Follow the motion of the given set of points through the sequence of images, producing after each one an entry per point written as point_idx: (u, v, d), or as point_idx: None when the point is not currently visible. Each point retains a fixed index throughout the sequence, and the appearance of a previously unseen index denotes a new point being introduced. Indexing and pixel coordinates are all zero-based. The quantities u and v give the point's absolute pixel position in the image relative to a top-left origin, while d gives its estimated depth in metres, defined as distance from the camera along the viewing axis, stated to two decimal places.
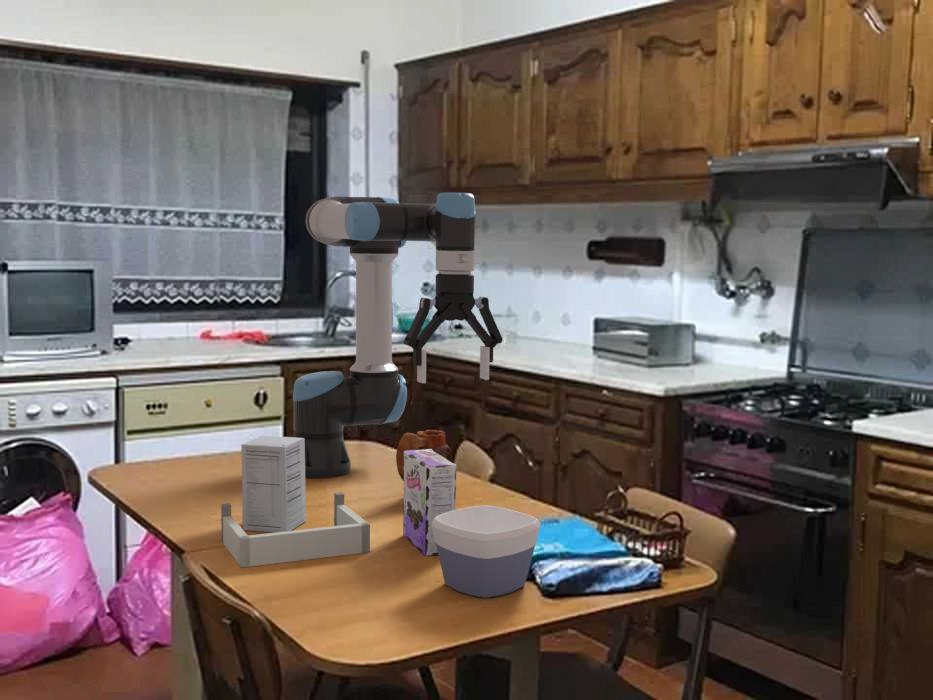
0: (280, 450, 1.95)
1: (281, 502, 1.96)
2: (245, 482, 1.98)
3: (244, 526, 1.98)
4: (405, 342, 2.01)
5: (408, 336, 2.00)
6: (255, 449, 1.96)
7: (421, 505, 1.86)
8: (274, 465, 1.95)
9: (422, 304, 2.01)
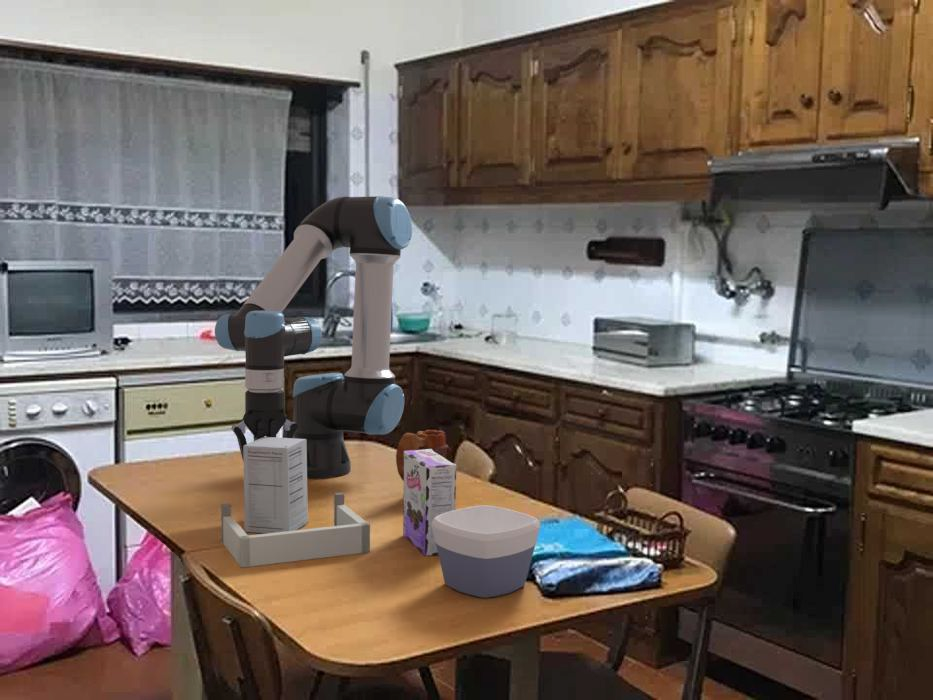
0: (283, 452, 1.93)
1: (283, 503, 1.95)
2: (247, 484, 1.96)
3: (246, 528, 1.97)
4: None
5: None
6: (257, 451, 1.95)
7: (421, 505, 1.86)
8: (276, 466, 1.94)
9: None
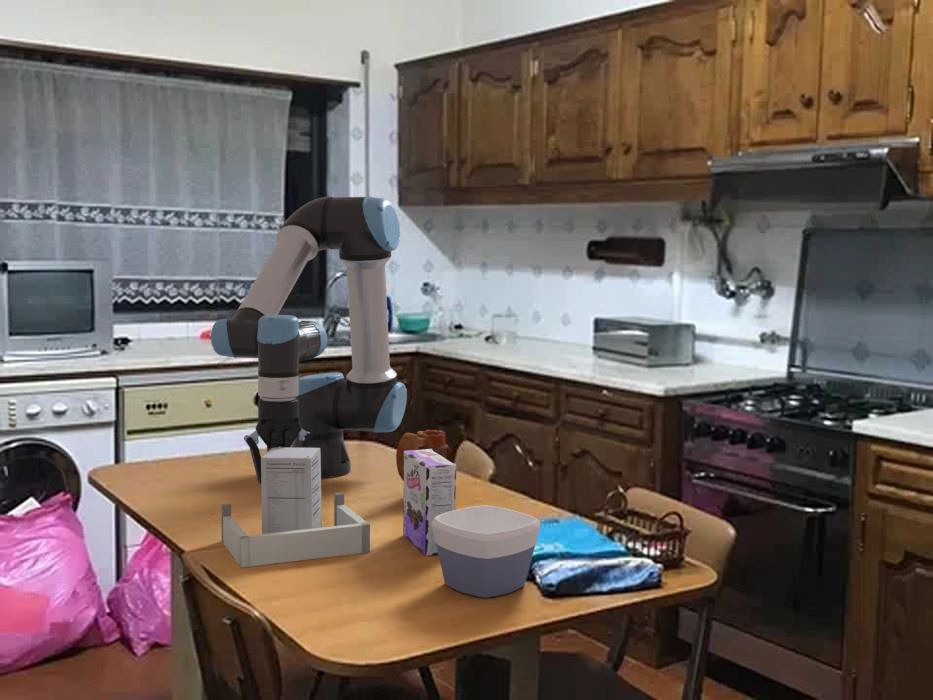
0: (306, 462, 1.85)
1: (306, 516, 1.86)
2: (265, 497, 1.86)
3: None
4: (259, 481, 1.96)
5: (258, 477, 1.95)
6: (277, 462, 1.85)
7: (421, 505, 1.86)
8: (298, 477, 1.86)
9: (248, 444, 1.93)
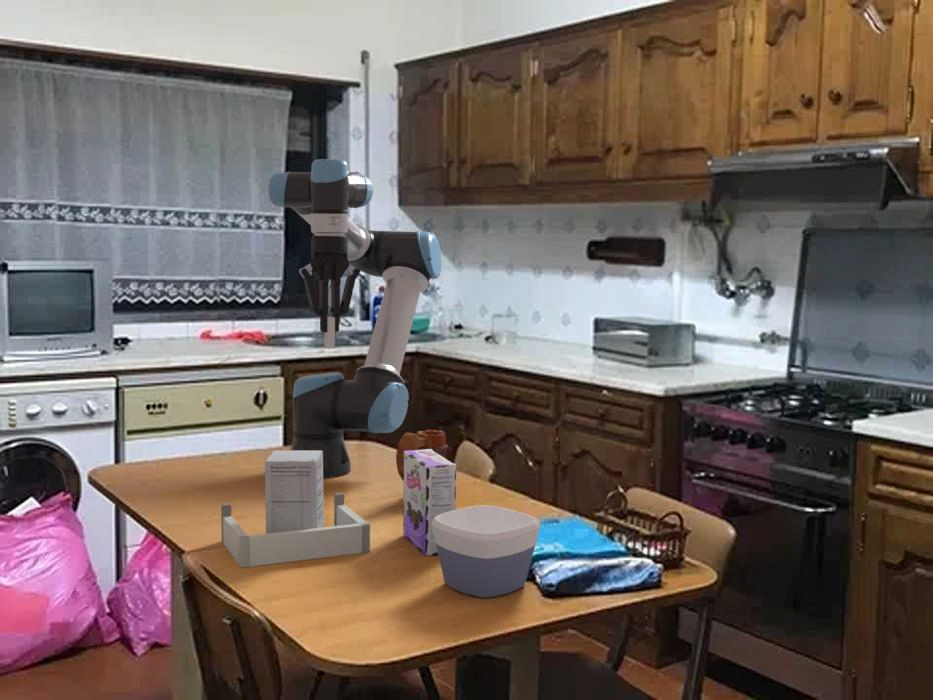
0: (311, 465, 1.83)
1: (312, 520, 1.84)
2: (269, 501, 1.84)
3: None
4: (312, 310, 2.17)
5: (311, 306, 2.17)
6: (282, 466, 1.83)
7: (421, 505, 1.86)
8: (303, 481, 1.83)
9: (302, 275, 2.15)
